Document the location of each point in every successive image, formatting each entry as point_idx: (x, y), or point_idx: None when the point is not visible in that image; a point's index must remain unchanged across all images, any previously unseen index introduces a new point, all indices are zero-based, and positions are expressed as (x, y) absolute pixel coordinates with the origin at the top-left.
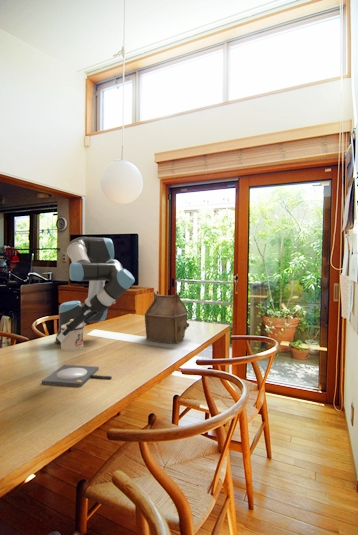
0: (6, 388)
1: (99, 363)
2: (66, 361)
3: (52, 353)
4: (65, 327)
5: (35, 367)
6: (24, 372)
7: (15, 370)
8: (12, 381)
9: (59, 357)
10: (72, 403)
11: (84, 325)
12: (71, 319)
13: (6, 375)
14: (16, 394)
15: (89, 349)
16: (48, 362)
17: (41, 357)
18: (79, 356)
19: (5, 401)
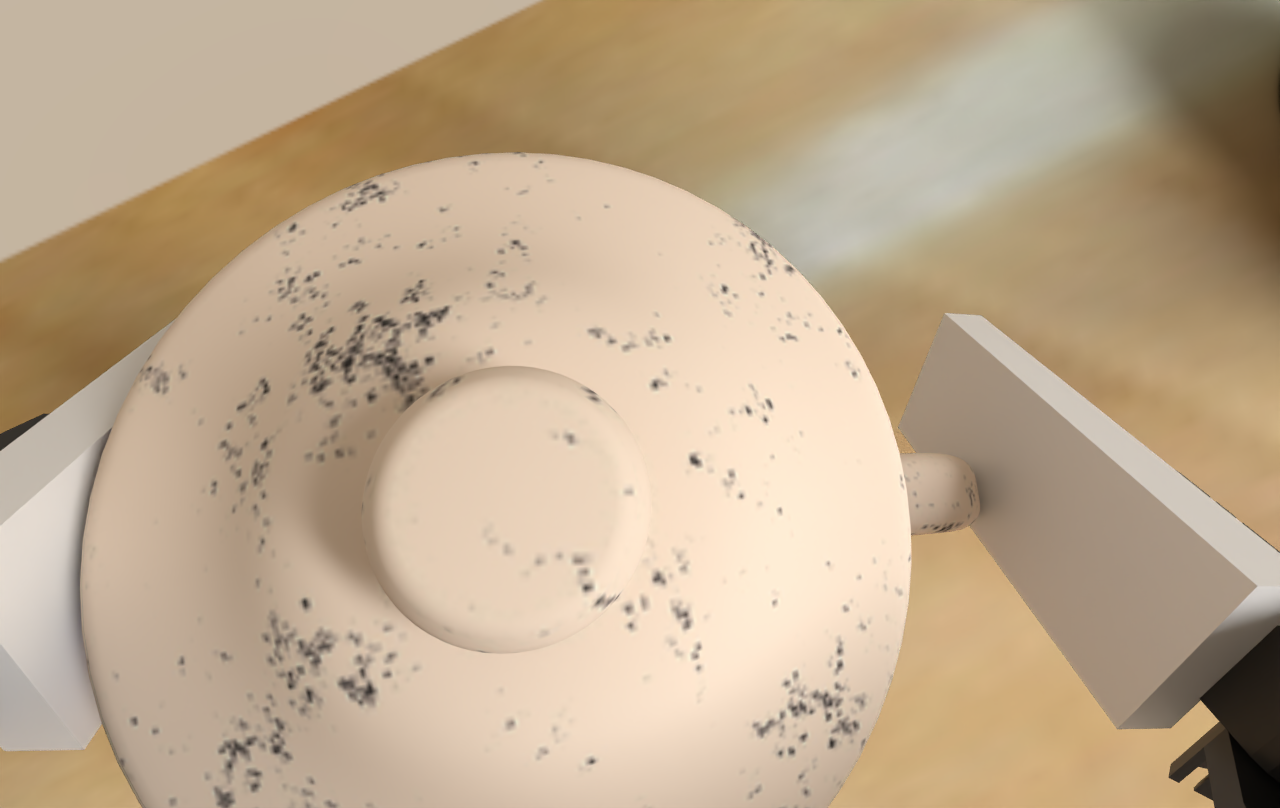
0: (307, 126)
1: (941, 638)
2: (916, 311)
3: (1062, 118)
4: (122, 412)
5: (734, 132)
6: (621, 102)
7: (649, 23)
8: (438, 103)
9: (990, 213)
10: (8, 783)
11: (1081, 675)
12: (523, 437)
13: (546, 11)
14: (198, 246)
15: (1259, 385)
16: (859, 178)
17: (951, 77)
18: (1061, 371)
19: (73, 232)
